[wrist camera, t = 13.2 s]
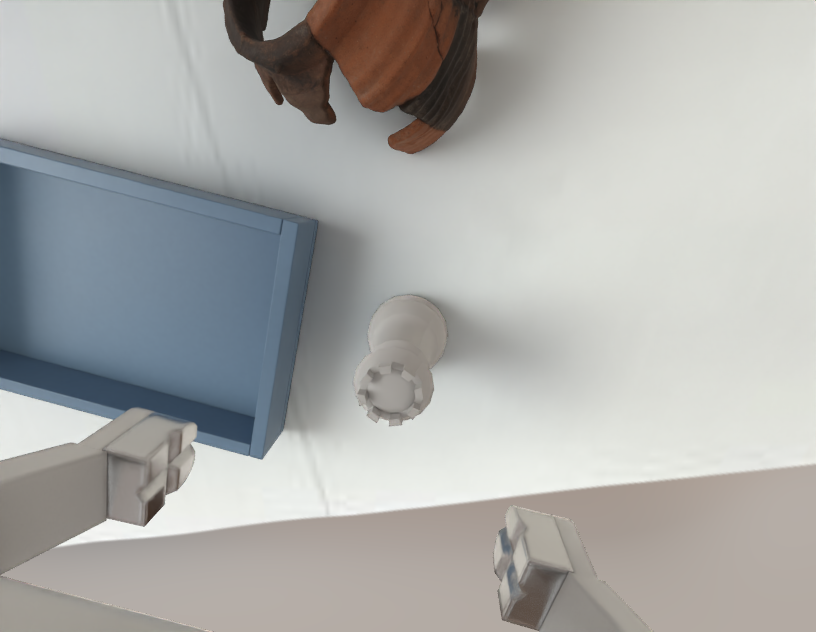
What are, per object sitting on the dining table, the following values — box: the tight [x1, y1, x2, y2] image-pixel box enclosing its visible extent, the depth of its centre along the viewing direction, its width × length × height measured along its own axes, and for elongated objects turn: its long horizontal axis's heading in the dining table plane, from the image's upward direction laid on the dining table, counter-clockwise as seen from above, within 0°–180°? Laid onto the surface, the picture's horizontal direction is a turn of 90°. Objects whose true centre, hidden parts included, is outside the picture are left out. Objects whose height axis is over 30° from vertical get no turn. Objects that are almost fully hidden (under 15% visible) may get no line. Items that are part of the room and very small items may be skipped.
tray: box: [0, 139, 318, 459], centre depth 22 cm, size 20×14×3 cm
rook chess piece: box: [353, 295, 448, 426], centre depth 18 cm, size 4×4×8 cm
